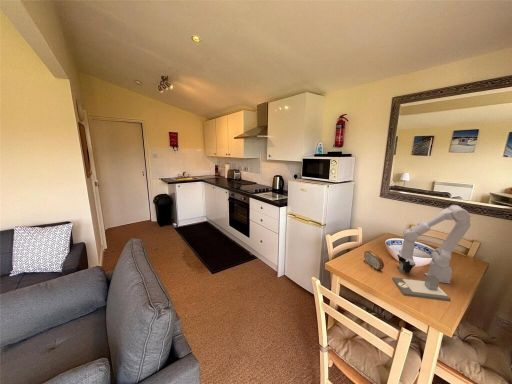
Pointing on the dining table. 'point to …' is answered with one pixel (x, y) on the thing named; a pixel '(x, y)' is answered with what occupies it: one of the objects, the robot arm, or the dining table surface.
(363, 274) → the dining table surface
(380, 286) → the dining table surface
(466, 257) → the dining table surface
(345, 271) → the dining table surface
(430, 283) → the block
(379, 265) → the tin
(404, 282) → the scale
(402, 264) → the block
